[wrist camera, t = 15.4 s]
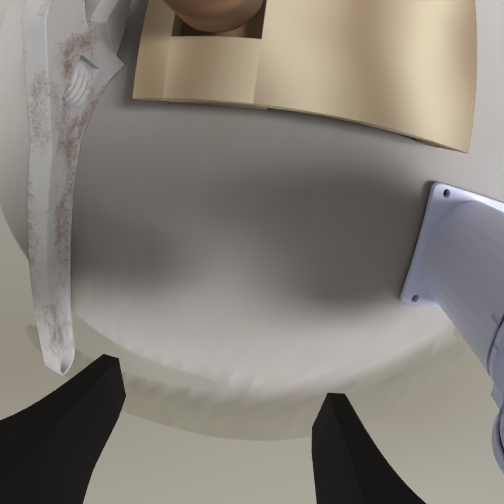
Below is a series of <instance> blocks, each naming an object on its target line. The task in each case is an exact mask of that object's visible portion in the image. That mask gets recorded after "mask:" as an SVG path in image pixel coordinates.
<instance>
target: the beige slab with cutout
mask: <svg viewBox="0 0 504 504" xmlns="http://www.w3.org/2000/svg"><path fill="white" fill-rule="evenodd" d="M476 77H477V26H476V10H475V0H263V2H262V5H261V7H260V9H259V10H258V12H257V13H256V14H255V15H254V16H253V17H252V18H251V19H250V20H249V21H247V22H246V23H245V24H244V25H242V26H241V27H239V28H237V29H235V30H232V31H224V32H223V31H222V32H205V31H201V30H197V29H195V28H192V27H191V26H189V25H187V24H186V23H185V22H184V21H183V20H182V19H181V18H180V17H179V16H178V15H177V14H176V13H175V12H174V11H173V10H172V9H171V8H170V7H169V6H168V5H167V4H166V3H165V2H164V1H163V0H148V4H147V8H146V13H145V18H144V23H143V28H142V34H141V40H140V45H139V52H138V58H137V65H136V72H135V80H134V88H133V97H132V99H139V100H145V101H149V100H158V101H168V102H172V103H183V104H205V105H220V106H232V107H243V108H253V109H262V110H267V108H275V109H282V110H289V111H296V112H302V113H308V114H314V115H320V116H325V117H330V118H335V119H340V120H345V121H350V122H354V123H359V124H363V125H368V126H372V127H376V128H380V129H384V130H388V131H392V132H395V133H399V134H403V135H406V136H410V137H413V138H416V140H415V141H418V142H421V143H425V144H428V145H431V146H434V147H438V148H443V149H449V150H454V151H459V152H463V153H469V146H470V140H471V132H472V125H473V116H474V106H475V94H476Z"/></svg>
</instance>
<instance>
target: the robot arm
mask: <svg viewBox="0 0 504 504" xmlns="http://www.w3.org/2000/svg"><path fill="white" fill-rule="evenodd" d="M445 189H447V194H446V195H445V196H444V195H443V192H444V190H445ZM414 295H416V297H415V298H414V299H412V297H413V296H414ZM400 298H401V300H402V302H403V303H404V304H409V305H420V306H431V307H441V308H442V309H443V310H444V312H445V313H446V314H447V316H448V317H449V318H450V320H451V321H452V322H453V324H454V325H455V326H456V328H457V329H458V331H459V332H460V333H461V335H462V336H463V338H464V339H465V340H466V342H467V343H468V345H469V346H470V347H471V349H472V350H473V352H474V353H475V355H476V356H477V358H478V359H479V360H480V362H481V363H482V365H483V367H484V368H485V369H486V371H487V373H488V374H489V376H490V377H491V378H492V381H493V390H492V392H491V395H492V397H493V399H494V401H495V402H496V404H497V406H498V408H499V409H500V411H499V413H498V414H497V416H496V419H495V422H494V425H493V430H492V447H493V452H494V456H495V459H496V461H497V463H498V465H499V467H500V468H501V470H502V471H503V473H504V203H503V202H500V201H497V200H494V199H491V198H488V197H485V196H482V195H479V194H476V193H473V192H470V191H467V190H464V189H460V188H457V187H454V186H450V185H447V184H443V183H440V182H436V183H434V184H433V185H432V187H431V190H430V195H429V199H428V203H427V207H426V212H425V216H424V220H423V223H422V227H421V231H420V235H419V238H418V242H417V245H416V249H415V252H414V255H413V259H412V262H411V265H410V268H409V271H408V275H407V278H406V281H405V284H404V287H403V289H402V292H401V296H400ZM125 397H126V394H125V389H124V384H123V379H122V374H121V369H120V363H119V358H116V357H112V356H109V355H105V354H103V355H102V356H100V357H99V358H98V359H96V360H95V361H94V362H92V363H91V364H90V365H88V366H87V367H86V368H84V369H83V370H82V371H81V372H79V373H78V374H77V375H75V376H74V377H73V378H71V379H70V380H69V381H67V382H66V383H64V384H63V385H62V386H60V387H59V388H58V389H56V390H55V391H53V392H52V393H50V394H49V395H47V396H46V397H44V398H43V399H41V400H40V401H38V402H36V403H35V404H33V405H32V406H30V407H28V408H26V409H24V410H22V411H20V412H18V413H16V414H14V415H12V416H10V417H7V418H5V419H2V420H0V504H83V501H84V497H85V494H86V490H87V487H88V484H89V481H90V478H91V475H92V472H93V469H94V467H95V465H96V462H97V460H98V458H99V456H100V454H101V452H102V450H103V448H104V446H105V444H106V442H107V440H108V438H109V436H110V434H111V432H112V430H113V428H114V426H115V424H116V422H117V420H118V417H119V414H120V412H121V409H122V406H123V403H124V400H125ZM312 461H313V471H314V480H315V490H316V500H317V504H426V503H425V502H424V501H423V500H422V499H421V498H419V497H418V496H417V495H416V494H415V493H414V492H413V491H412V490H411V489H410V488H409V487H408V486H407V485H406V484H405V483H404V481H403V480H402V479H401V478H400V477H399V476H398V475H397V473H396V472H395V471H394V470H393V468H392V467H391V466H390V465H389V463H388V462H387V460H386V459H385V458H384V457H383V455H382V454H381V452H380V451H379V449H378V448H377V446H376V445H375V443H374V442H373V440H372V439H371V437H370V436H369V434H368V433H367V431H366V429H365V428H364V426H363V424H362V423H361V421H360V419H359V417H358V416H357V414H356V412H355V410H354V409H353V407H352V405H351V403H350V402H349V400H348V398H347V396H346V395H345V394H341V393H327V396H326V398H325V400H324V402H323V405H322V407H321V409H320V411H319V413H318V416H317V418H316V420H315V422H314V424H313V426H312Z"/></svg>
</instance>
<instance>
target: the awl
mask: <svg viewBox="0 0 504 504" xmlns="http://www.w3.org/2000/svg"><path fill="white" fill-rule="evenodd" d="M163 1H164V2H165V3H166V4H167V5H168V6H169V7H170V8H171V9H172V10H173V11H174V12H175V13H176V14H177V15H178V16H179V17H180V18H181V19H182V20H183V21H184V22H185V23H186V24H187V25H189V26H191V27H192V28H195V29H197V30H201V31H205V32H222V31H223V32H224V31H232V30H235V29H237V28H239V27H241V26H242V25H244V24H245V23H246V22H247V21H249V20H250V19H251V18H252V17H253V16H254V15H255V14H256V13H257V12H258V10H259V9H260V7H261V5H262V2H263V0H163Z"/></svg>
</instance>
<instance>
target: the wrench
mask: <svg viewBox="0 0 504 504" xmlns="http://www.w3.org/2000/svg"><path fill="white" fill-rule="evenodd" d="M130 3H131V0H101V1H100V3H99V5H98V6H97V8H96V10H95V11H94V13H93V15H92V17H91V20H90V21H91V22H87V18H86V9H85V0H27V1H26V4H25V8H24V12H23V16H22V40H23V54H24V67H25V76H26V85H27V104H28V119H29V130H30V140H31V151H30V162H29V176H28V202H27V225H28V251H29V265H30V277H31V286H32V294H33V302H34V309H35V315H36V322H37V328H38V333H39V338H40V343H41V348H42V353H43V357H44V362H45V365H46V366H47V367H49V368H50V369H52V370H54V371H56V372H57V373H59V374H61V375H64V374H66V373H67V372H68V370H69V369H70V367H71V365H72V363H73V360H74V348H75V345H74V335H73V324H72V310H71V280H70V256H71V225H72V209H73V197H74V187H75V179H76V171H77V165H78V158H79V152H80V146H81V141H82V138H83V135H84V132H85V129H86V127H87V124H88V121H89V119H90V116H91V113H92V112H93V110H94V108H95V106H96V104H97V102H98V100H99V98H100V96H101V95H102V93H103V91H104V89H105V88H106V86H107V84H108V83H109V81H110V79H111V78H112V77H113V76H114V75H115V74H116V73H117V72H118V71H119V70H120V69H121V68H122V67H123V66H124V63H123V62H122V61H121V60H120V59H119V58H118V57H117V56H116V55H117V52H118V49H119V46H120V43H121V40H122V37H123V34H124V31H125V27H126V22H127V18H128V13H129V9H130Z"/></svg>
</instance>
